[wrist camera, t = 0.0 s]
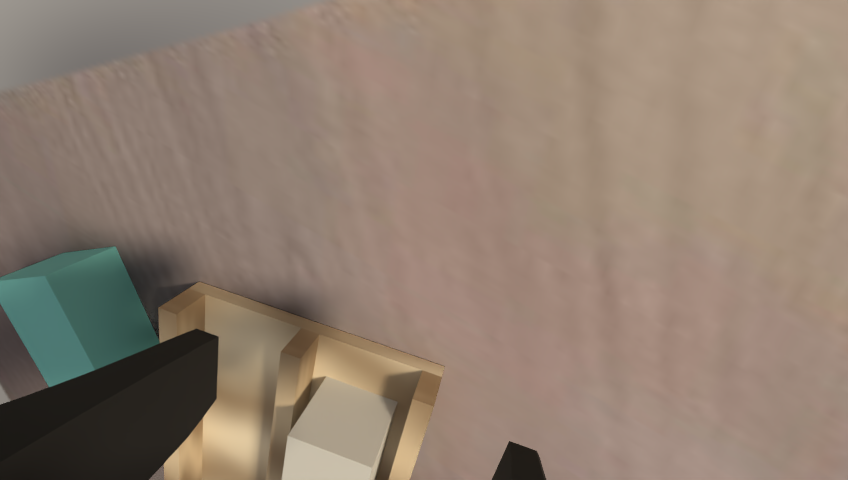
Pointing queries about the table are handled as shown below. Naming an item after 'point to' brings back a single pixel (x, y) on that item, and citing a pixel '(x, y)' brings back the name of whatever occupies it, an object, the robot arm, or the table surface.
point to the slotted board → (286, 386)
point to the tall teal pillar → (76, 312)
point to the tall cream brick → (339, 435)
